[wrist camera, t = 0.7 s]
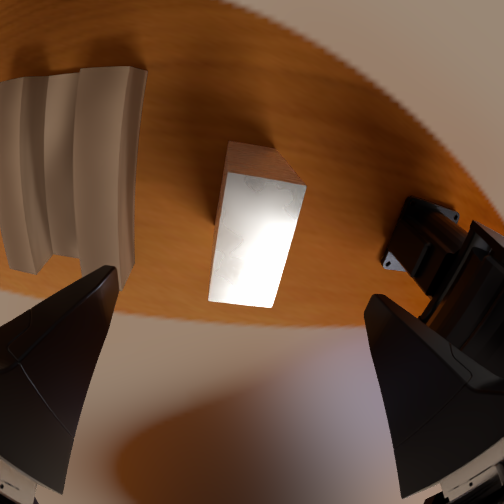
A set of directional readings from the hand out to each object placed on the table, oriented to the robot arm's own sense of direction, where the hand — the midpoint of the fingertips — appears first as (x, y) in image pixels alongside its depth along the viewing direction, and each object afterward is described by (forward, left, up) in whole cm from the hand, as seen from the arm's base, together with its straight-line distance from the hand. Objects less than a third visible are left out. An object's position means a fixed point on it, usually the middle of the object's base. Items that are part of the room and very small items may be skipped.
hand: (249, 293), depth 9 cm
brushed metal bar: (0, 0, -11) cm, 11 cm away
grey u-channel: (+12, 0, -11) cm, 16 cm away
